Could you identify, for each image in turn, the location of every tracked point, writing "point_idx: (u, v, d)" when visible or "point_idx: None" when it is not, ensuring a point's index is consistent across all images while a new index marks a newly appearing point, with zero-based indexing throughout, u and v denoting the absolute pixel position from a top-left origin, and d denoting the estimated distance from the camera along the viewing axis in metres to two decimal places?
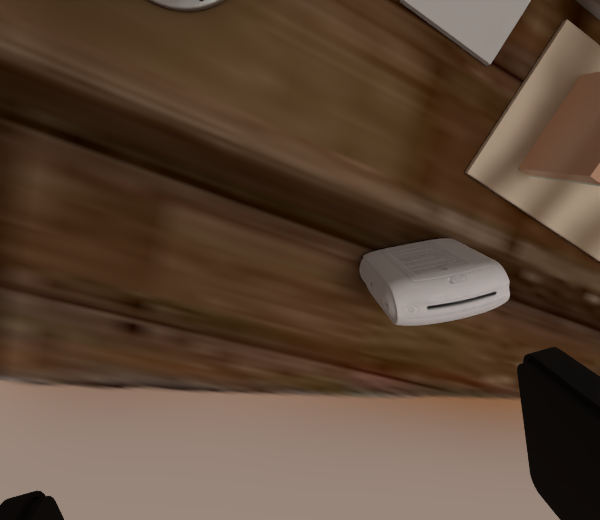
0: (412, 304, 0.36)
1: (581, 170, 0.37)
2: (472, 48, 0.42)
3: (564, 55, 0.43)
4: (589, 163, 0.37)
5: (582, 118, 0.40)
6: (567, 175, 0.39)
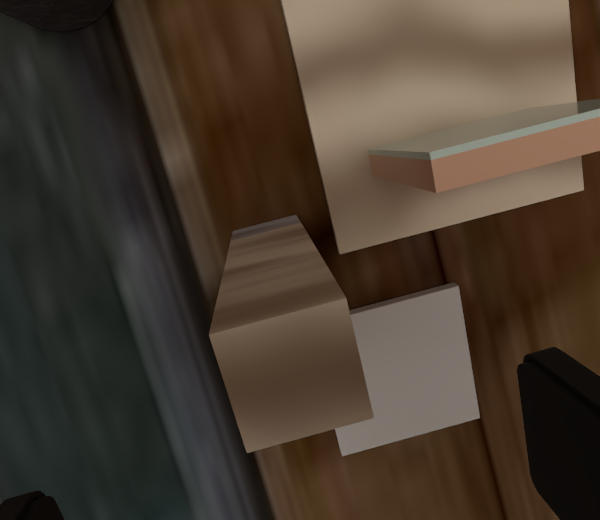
0: None
1: None
2: (460, 318, 0.31)
3: (373, 217, 0.29)
4: None
5: None
6: None
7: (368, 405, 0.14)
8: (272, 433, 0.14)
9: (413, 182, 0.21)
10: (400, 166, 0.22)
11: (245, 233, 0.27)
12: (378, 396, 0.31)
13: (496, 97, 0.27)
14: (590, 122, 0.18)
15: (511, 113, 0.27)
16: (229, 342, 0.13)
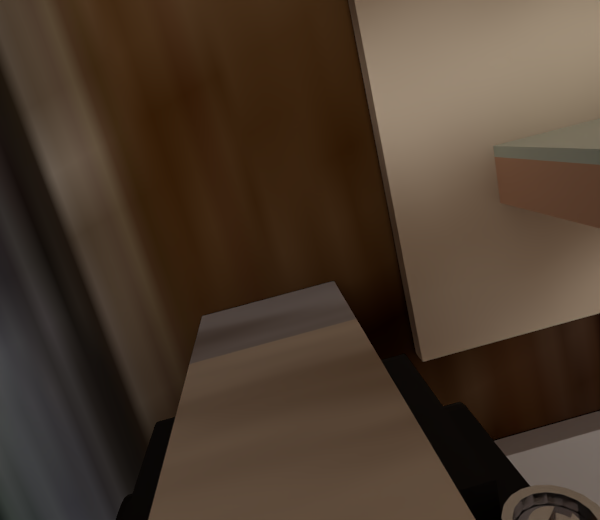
0: None
1: None
2: None
3: (495, 288, 0.14)
4: None
5: None
6: None
7: None
8: None
9: None
10: None
11: (226, 336, 0.12)
12: None
13: None
14: None
15: None
16: None
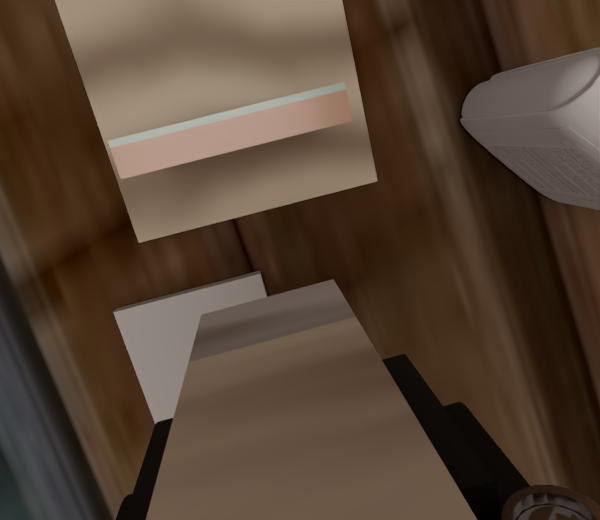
0: None
1: None
2: None
3: (169, 207, 0.30)
4: None
5: None
6: None
7: None
8: None
9: None
10: None
11: (225, 334, 0.12)
12: None
13: (279, 91, 0.29)
14: (264, 112, 0.19)
15: None
16: None
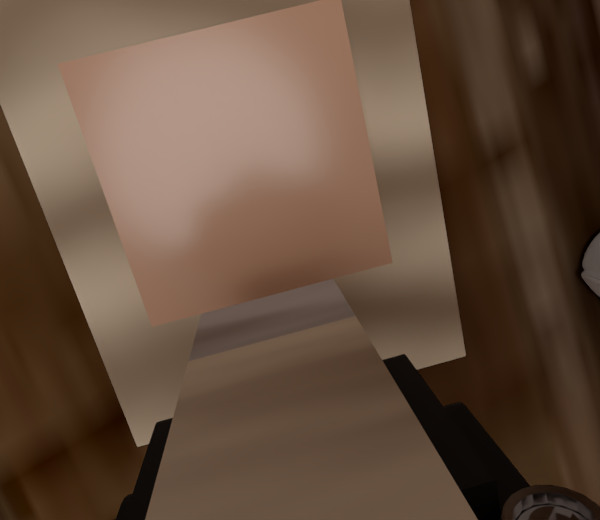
0: None
1: (337, 39, 0.17)
2: None
3: None
4: (317, 33, 0.16)
5: (237, 186, 0.18)
6: None
7: None
8: None
9: None
10: None
11: (225, 333, 0.12)
12: None
13: None
14: None
15: None
16: None
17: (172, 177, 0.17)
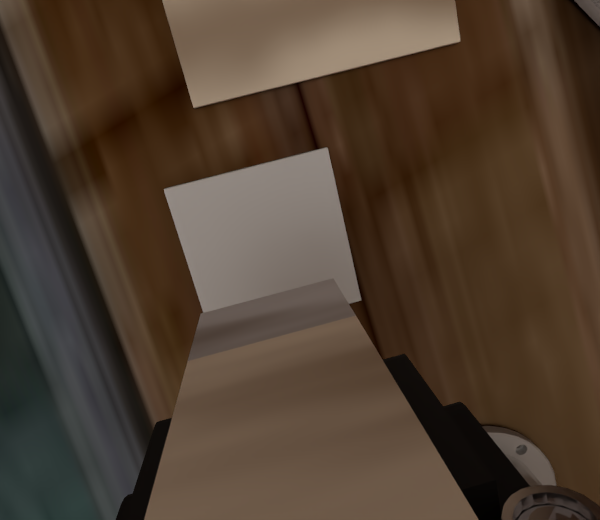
0: None
1: None
2: (332, 185, 0.28)
3: (228, 65, 0.26)
4: None
5: None
6: None
7: None
8: None
9: None
10: None
11: (225, 333, 0.12)
12: (247, 272, 0.29)
13: None
14: None
15: None
16: None
17: None
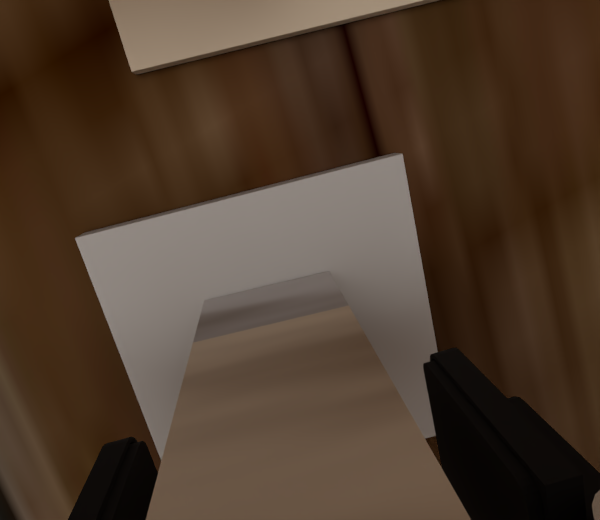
0: None
1: None
2: (409, 226, 0.15)
3: None
4: None
5: None
6: None
7: None
8: None
9: None
10: None
11: (227, 318, 0.13)
12: None
13: None
14: None
15: None
16: None
17: None
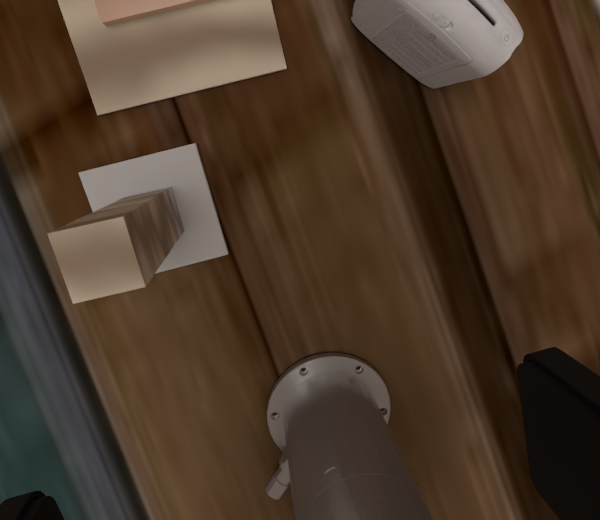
0: (502, 43, 0.29)
1: None
2: (200, 169, 0.40)
3: (120, 86, 0.38)
4: None
5: None
6: None
7: (141, 279, 0.25)
8: (87, 292, 0.25)
9: None
10: None
11: (129, 197, 0.38)
12: None
13: None
14: None
15: None
16: (59, 238, 0.24)
17: None
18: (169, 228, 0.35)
